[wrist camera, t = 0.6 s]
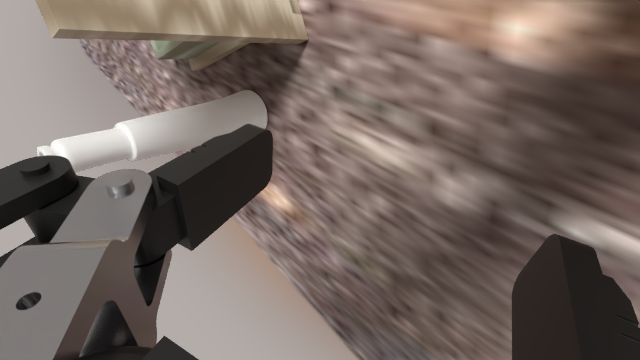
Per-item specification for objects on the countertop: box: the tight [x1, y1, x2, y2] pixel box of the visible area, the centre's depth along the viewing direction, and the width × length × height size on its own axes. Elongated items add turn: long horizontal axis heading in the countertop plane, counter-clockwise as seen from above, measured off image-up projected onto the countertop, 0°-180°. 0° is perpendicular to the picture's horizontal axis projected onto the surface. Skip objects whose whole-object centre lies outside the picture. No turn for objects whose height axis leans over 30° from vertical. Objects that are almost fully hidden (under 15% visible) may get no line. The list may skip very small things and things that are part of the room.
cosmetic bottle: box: [37, 90, 268, 172], centre depth 32 cm, size 6×6×22 cm
